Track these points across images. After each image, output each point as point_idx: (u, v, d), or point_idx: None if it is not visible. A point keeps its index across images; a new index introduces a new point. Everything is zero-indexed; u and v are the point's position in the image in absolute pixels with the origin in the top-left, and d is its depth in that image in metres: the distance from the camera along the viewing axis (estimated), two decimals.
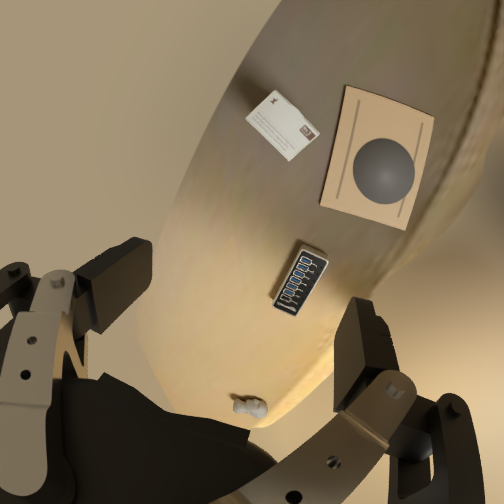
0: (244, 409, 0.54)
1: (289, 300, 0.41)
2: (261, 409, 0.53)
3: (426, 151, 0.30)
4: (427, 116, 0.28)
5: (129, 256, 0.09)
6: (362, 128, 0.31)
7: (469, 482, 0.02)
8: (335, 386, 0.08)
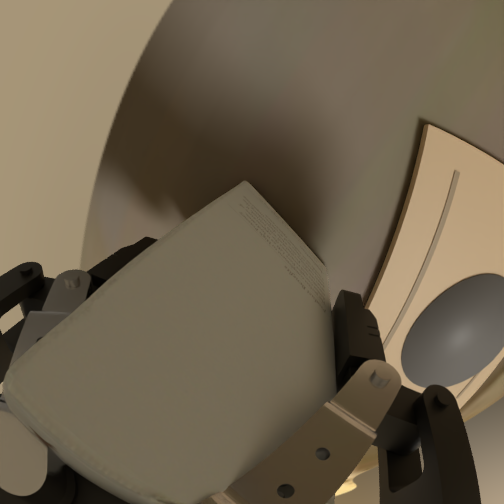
0: None
1: None
2: None
3: None
4: None
5: None
6: (450, 252, 0.11)
7: (462, 473, 0.03)
8: None
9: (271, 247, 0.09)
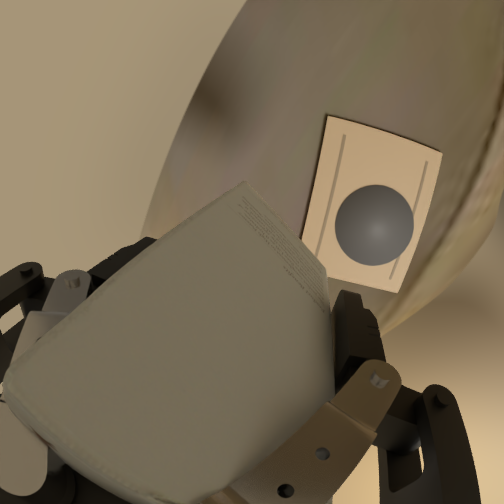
0: None
1: None
2: None
3: (430, 198, 0.24)
4: (433, 151, 0.22)
5: None
6: (348, 173, 0.26)
7: (462, 472, 0.03)
8: None
9: (270, 247, 0.09)
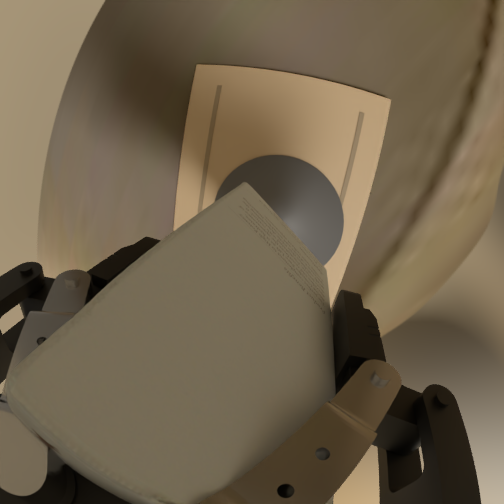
0: None
1: None
2: None
3: (371, 174, 0.16)
4: (373, 97, 0.14)
5: None
6: (226, 140, 0.17)
7: (462, 473, 0.03)
8: None
9: (271, 249, 0.09)
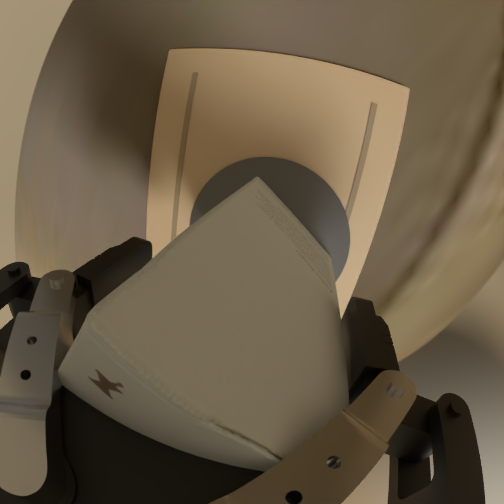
0: None
1: None
2: None
3: (386, 181, 0.12)
4: (388, 84, 0.10)
5: (129, 256, 0.09)
6: (203, 139, 0.14)
7: (469, 482, 0.02)
8: None
9: (285, 234, 0.10)
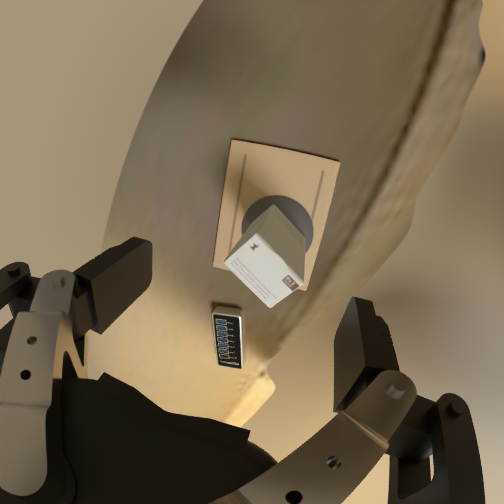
0: None
1: (228, 357, 0.42)
2: None
3: (328, 204, 0.31)
4: (330, 161, 0.29)
5: (129, 256, 0.09)
6: (249, 186, 0.33)
7: (470, 482, 0.02)
8: (335, 386, 0.08)
9: (285, 226, 0.29)
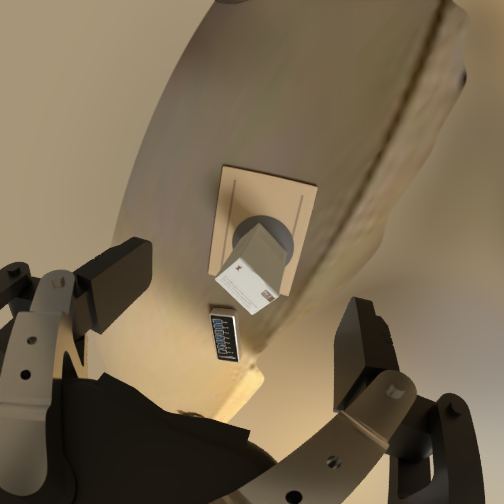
0: None
1: (226, 352, 0.48)
2: None
3: (307, 223, 0.37)
4: (308, 187, 0.35)
5: (129, 256, 0.09)
6: (238, 207, 0.38)
7: (470, 482, 0.02)
8: (335, 386, 0.08)
9: (267, 244, 0.35)
